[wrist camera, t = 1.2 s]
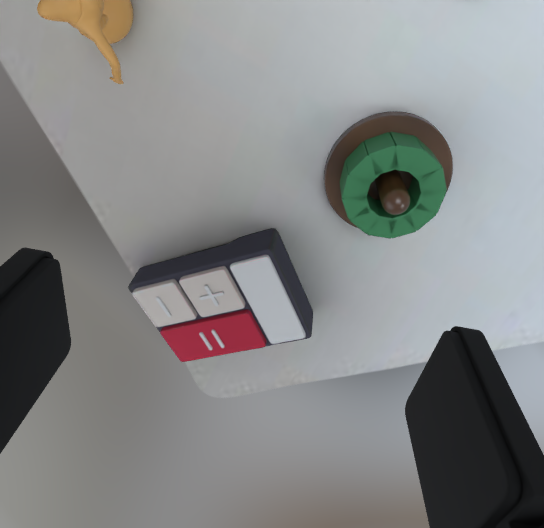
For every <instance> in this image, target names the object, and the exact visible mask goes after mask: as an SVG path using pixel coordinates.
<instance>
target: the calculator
mask: <svg viewBox="0 0 544 528" xmlns="http://www.w3.org/2000/svg"><path fill="white" fill-rule="evenodd" d="M128 288H129V290H130V292H131V293H132V294H133V296H134V298H135V299H136V300H137V302H138V303H139V305H140V306H141V307H142V309H143V310H144V311H145V313H146V314H147V315H148V317H149V318H150V320H151V321H152V322H153V324H154V325H155V326H156V327H157V329H158V330H159V332H160V333H161V335H162V336H163V338H164V339H165V340H166V342H167V343H168V344H169V346H170V347H171V349H172V350H173V351H174V352H175V354H176V355H177V357H178V358H179V360H180V361H182V362H185V361H191V360H196V359H202V358H207V357H213V356H218V355H223V354H229V353H234V352H240V351H245V350H251V349H256V348H262V347H265V346H269V345H275V344H280V343H285V342H291V341H296V340H302V339H307V338H310V337H311V334H312V320H313V310H312V308H311V306H310V304H309V301H308V299H307V297H306V294H305V292H304V290H303V288H302V285H301V283H300V281H299V278H298V276H297V274H296V272H295V269H294V267H293V265H292V262H291V260H290V258H289V256H288V253H287V251H286V249H285V247H284V244H283V242H282V240H281V237H280V235H279V233H278V231H277V230H276V229H268V230H265V231H261V232H257V233H254V234H250V235H247V236H243V237H240V238H238V239H236V240H234V241H233V242H231V243H229V244H226V245H222V246H218V247H215V248H211V249H207V250H204V251H200V252H196V253H193V254H189V255H186V256H182V257H178V258H175V259H171V260H167V261H164V262H160V263H157V264H153V265H149V266H146V267H142V268H140V269H139V270H138V272H137V273H136V275H135V277H134V278H133V280H132V281H131V283H130V284H129V286H128Z"/></svg>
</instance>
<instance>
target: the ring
mask: <svg viewBox="0 0 544 528" xmlns="http://www.w3.org/2000/svg"><path fill="white" fill-rule="evenodd" d="M392 170H399V171H405V172H409V173H410V174H411V175H412V176H413V179H412V181H411V184H410V187H409V189H408V190H407V191H408V193H409V196H410V205H409V207H408V209H407V210H406V211H405V212H403V213H402V214H399V215H392V214H389V213H387V212H386V211H385V210H384V208H383V207H382V204H381V200H376V199H374V198H372V197H371V196H370V195H369V194H368V190H369V187H370V184H371V183H372V182H373V181H374V180H375V179H376V178H377V177H378V176H379V175H380V174H383V173H386V172H389V171H392ZM340 190H341V197H342V202H343V205H344V208H345V211H346V214H347V217H348V219H349V220H350V221H351V222H352V223H353V224H354V225H356V226H357V227H358V228H359V229H361V230H362V231H363V232H364V233H366V234H368V235H373V236H379V237H385V238H395V237H398V236H402V235H406V234H409V233H413V232H416V230H419V229H420V228H421V227H422V226H424V225H425V224H426V223H427V222H428V221H430V220H431V219H432V218H433V217H434V216H436V213H438V210H439V208H440V206H441V203H442V201H443V199H444V196H445V194H446V190H447V188H446V182H445V177H444V171H443V167H442V165H441V164H440V162H439V161H438V159H437V158H436V156H435V155H434V154H433V152H432V151H431V150H430V149H429V148H428V147H427V146H426V145H425V144H424V143H423V142H421V141H420V140H419V139H418V138H417V137H415V136H414V135H408V134H402V133H396V132H390V133H389V132H387V133H384V134H381V135H378V136H375V137H372V138H369V139H367V140H364V141H363V142H362V143H361V144H360V145H359V146H358V147H357V148H356V149H355V150H354V151H353V152H352V153H351V154H350V155H349V156H348V157H347V158H346V160H345V163H344V166H343V170H342V174H341V178H340Z"/></svg>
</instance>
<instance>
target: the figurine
mask: <svg viewBox="0 0 544 528" xmlns="http://www.w3.org/2000/svg"><path fill="white" fill-rule="evenodd" d="M37 11H38V13H39V15H40V16H41V17H43V18H45V19H48V20H52V21H62V22H68V23H69V24H71V25H72V26H73V27H75V28H77V29H78V30H79V32H80V33H81V34H82V35H84V36H86V37H87V38H89V39H90V40H92V41H94V42H95V44H96V46H97V47H98V49H99V50H100V52H101V53H102V54H103V55H104V57H105V58H106V59H107V60H108V62H109V64H110V66H111V68H112V75H113V77H114V78H112V77H110V79H111V80H113V81H114V82H115V83H118V84H124V83H123V81H122V79H121V70H120V63H119V61H118V58H117V56H116V54H115V52H114V51H113V49H112V47H111V45H110V44H112V43H116V42H118V41H120V40H122V39H123V38H124V37H125V36H126V35H127V34H128V32H129V31H130V29H131V26H132V22H133V8H132V4H131V1H130V0H40V2H39V3H38V7H37Z"/></svg>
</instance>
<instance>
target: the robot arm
mask: <svg viewBox="0 0 544 528" xmlns="http://www.w3.org/2000/svg"><path fill="white" fill-rule="evenodd" d="M70 346H71V337H70V330H69V323H68V316H67V310H66V303H65V296H64V290H63V283H62V276H61V269H60V264H59V262H58V260H56V259H54V258H53V256H52V254H51V253H50V252H46V251H41V250H35V249H30V248H22V249H21V250H19V251H18V252H16V253H15V254H14V255H13V256H12V257H11V258H10V259H8V260H7V261H6V262H5V263H4V264H3V265H2V266H0V453H1V452H2V450H3V449H4V448H5V446H6V445H7V443H8V442H9V440H10V439H11V437H12V436H13V434H14V433H15V431H16V430H17V428H18V427H19V425H20V424H21V423H22V421H23V420H24V418H25V417H26V415H27V414H28V412H29V410H30V409H31V408H32V406H33V405H34V403H35V402H36V400H37V399H38V397H39V396H40V394H41V393H42V392H43V390H44V389H45V387H46V386H47V384H48V383H49V381H50V380H51V378H52V377H53V375H54V374H55V372H56V371H57V369H58V368H59V366H60V365H61V363H62V362H63V361H64V359H65V358H66V356H67V354H68V352H69V350H70ZM405 415H406V420H407V425H408V429H409V434H410V438H411V443H412V447H413V452H414V457H415V461H416V466H417V470H418V475H419V479H420V484H421V489H422V493H423V498H424V502H425V507H426V512H427V516H428V521H429V526H430V528H544V455H543V453H542V451H541V449H540V447H539V445H538V443H537V441H536V439H535V437H534V435H533V433H532V431H531V429H530V427H529V425H528V423H527V421H526V419H525V417H524V415H523V413H522V411H521V409H520V407H519V405H518V403H517V401H516V399H515V397H514V395H513V393H512V391H511V389H510V387H509V385H508V383H507V380H506V378H505V377H504V374H503V373H502V371H501V368H500V366H499V365H498V362H497V361H496V358H495V356H494V355H493V352H492V350H491V348H490V346H489V344H488V342H487V340H486V338H485V336H484V335H483V333H482V332H481V331H479V330H474V329H469V328H463V327H458V326H456V327H453V328H452V329H451V331H445V332H444V333H443V334H442V336H441V338H440V340H439V342H438V344H437V345H436V347H435V349H434V351H433V353H432V355H431V357H430V358H429V360H428V362H427V364H426V366H425V368H424V370H423V372H422V374H421V375H420V377H419V379H418V381H417V383H416V385H415V387H414V389H413V390H412V392H411V394H410V396H409V398H408V400H407V403H406V407H405Z"/></svg>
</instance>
